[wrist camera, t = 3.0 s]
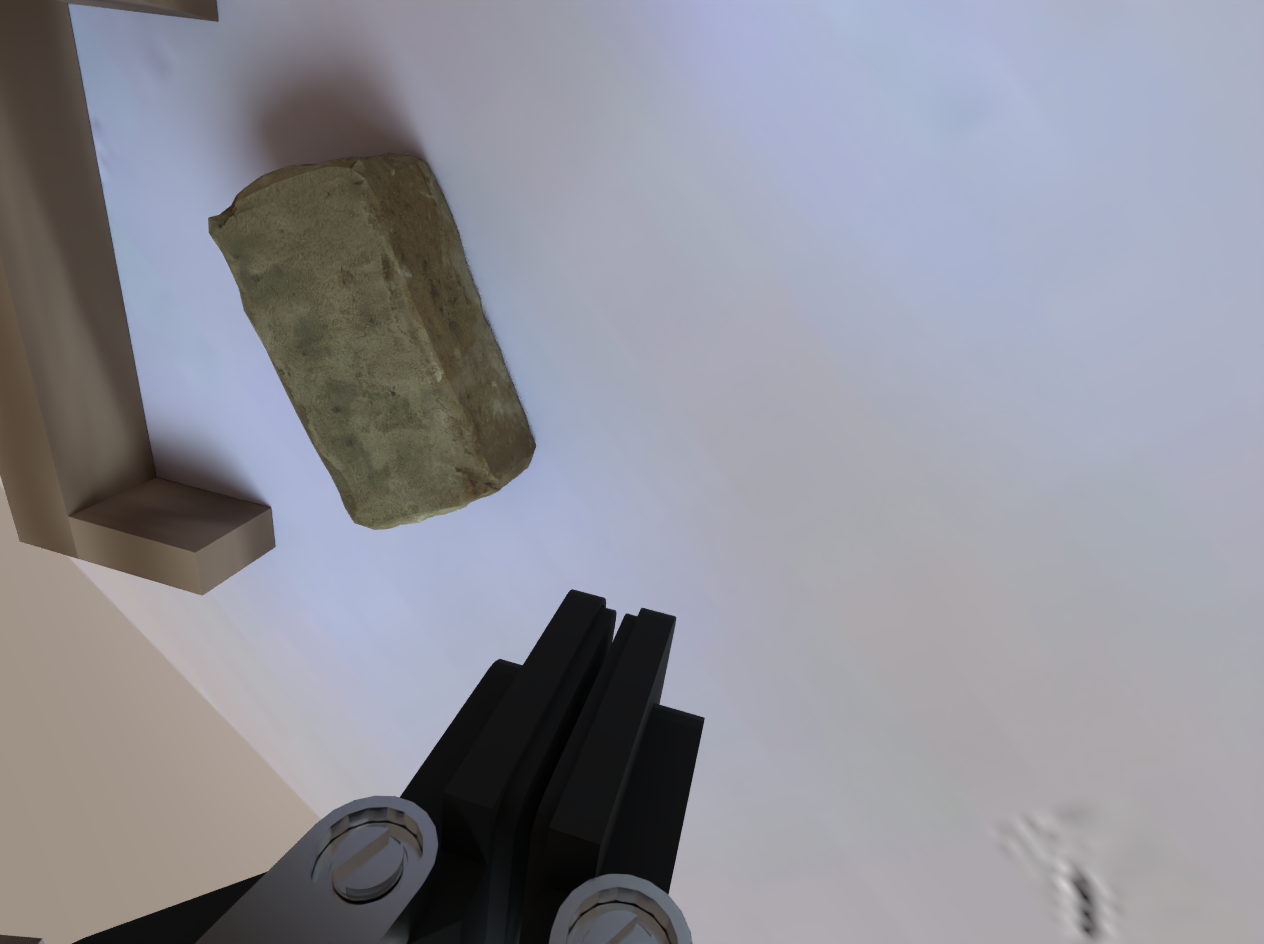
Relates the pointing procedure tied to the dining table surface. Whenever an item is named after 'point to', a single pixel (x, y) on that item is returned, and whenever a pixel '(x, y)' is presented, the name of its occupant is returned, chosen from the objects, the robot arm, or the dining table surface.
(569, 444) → the dining table surface
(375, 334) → the stone block
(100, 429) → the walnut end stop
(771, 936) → the dining table surface
